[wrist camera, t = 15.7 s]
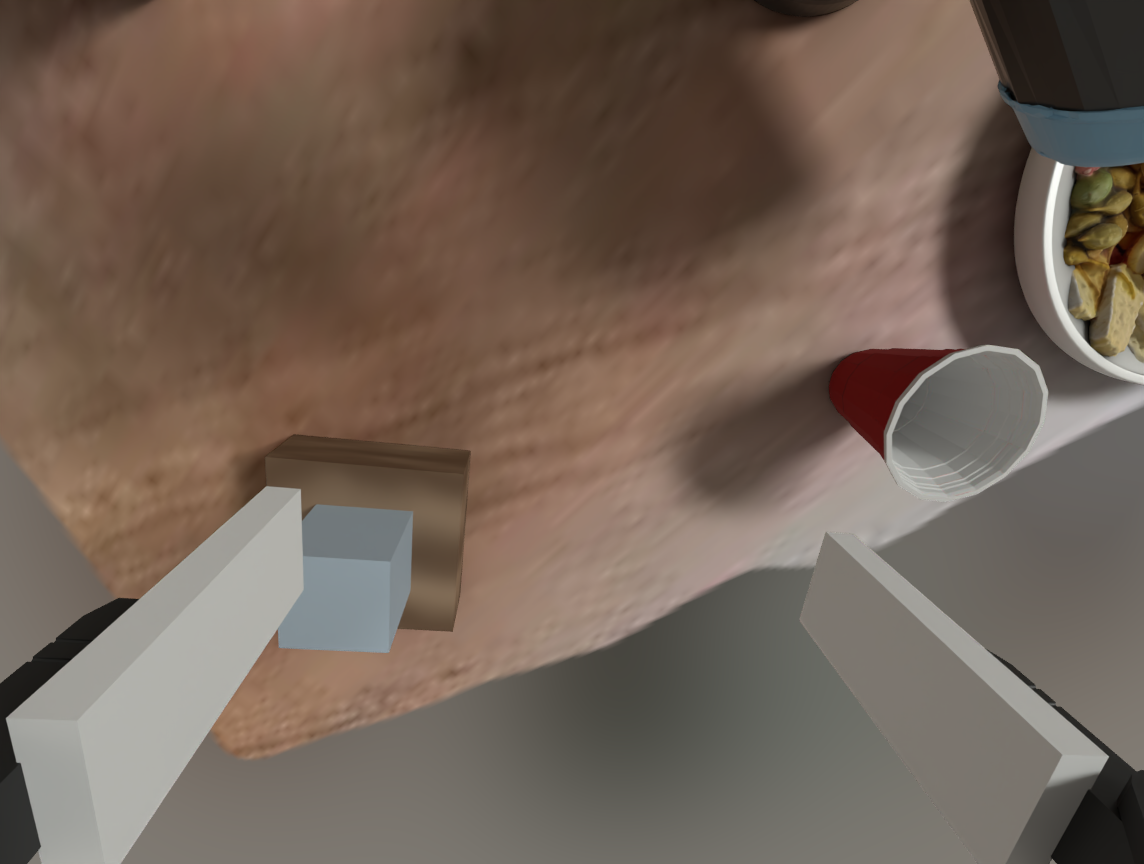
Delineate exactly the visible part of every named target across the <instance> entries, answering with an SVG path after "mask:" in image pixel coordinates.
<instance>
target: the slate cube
mask: <svg viewBox="0 0 1144 864" xmlns="http://www.w3.org/2000/svg"><path fill="white" fill-rule="evenodd" d="M412 528H413V511H402V510H388V509H374V508H360V507H346V506H333V505H319V504H316V505H315V506H314V507H313V509H312V510H311V511H310V512H309V513H308V515H307V516H306V517H305V518H304V519H303V520H302V547H303V581H304V590H303V592H302V593H301V594H300V596H299V597H298V599H297V600H296V602H295V603H294V605H293V606H292V608H291V609H290V611H289V612H288V614H287V615H286V617H285V618H284V620H283V621H282V623H281V624H280V626H279V627H278V638H279V648H291V649H313V650H336V651H358V652H380V653H389V651H390V648H391V645H392V642H393V639H394V636H395V633H396V631H397V628H398V625H399V622H400V619H401V616H402V614H403V611H404V608H405V605H406V602H407V599H408V596H409V594H410V589H411V559H412Z"/></svg>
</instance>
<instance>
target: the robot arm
mask: <svg viewBox="0 0 1144 864" xmlns="http://www.w3.org/2000/svg"><path fill="white" fill-rule="evenodd" d="M755 1H756V2H758V3H759V4H761V5H763V6H765V7H767V8H769V9H771V10H773V11H776V12H779V13H783V14H787V15H793V16H817V15H823V14H827V13H831V12H834V11H837V10H840V9H842V8H845V7H847V6H849V5H851V4H853V3H854V2H856V1H858V0H755ZM970 3H971V5H972V8H973V11H974V13H975V16H976V19H977V21H978V24H979V26H980V29H981V32H982V34H983V37H984V40H985V42H986V45H987V47H988V50H989V53H990V55H991V58H992V61H993V63H994V66H995V68H996V71H997V74H998V76H999V79H1000V80H999V83H998V89H999V92H1000V95H1001V97H1002V98H1003V100H1004V101H1005V102H1006V103H1007V104H1008V105H1009V106H1011V107H1012V108H1013V110H1014V112H1015V114H1016V116H1017V118H1018V120H1019V123H1020V125H1021V127H1022V129H1023V131H1024V134H1025V136H1026V138H1027V140H1028V142H1029V144H1030V145H1031V147H1032V148H1033V149H1034V150H1035V151H1036V152H1037V153H1038V154H1040V155H1041V156H1044V157H1047V158H1050V159H1053V160H1056V161H1057V162H1059V163H1061V164H1064V165H1069V166H1079V167H1113V166H1124V165H1132V164H1138V163H1144V0H970ZM303 590H304V581H303V547H302V513H301V489H295V488H282V487H270V486H266V487H265V488H264V489H263V490H262V491H261V492H259V493H258V494H257V495H256V496H255V497H254V498H253V499H252V500H250V501H249V502H248V503H247V504H246V505H245V506H244V507H243V508H241V509H240V510H239V511H238V512H237V513H236V514H235V515H234V516H232V517H231V518H230V519H229V520H228V521H227V522H226V523H225V524H223V525H222V526H221V527H220V528H219V529H218V530H217V531H216V532H214V533H213V534H212V535H211V536H210V537H209V538H208V539H207V540H205V541H204V542H203V543H202V544H201V545H200V546H199V547H198V548H197V549H195V550H194V551H193V552H192V553H191V554H190V555H189V556H188V557H186V558H185V559H184V560H183V561H182V562H181V563H180V564H179V565H177V566H176V567H175V568H174V569H173V570H172V571H171V572H170V573H168V574H167V575H166V576H165V577H164V578H163V579H162V580H161V581H159V582H158V583H157V584H156V585H155V586H154V587H153V588H152V589H150V590H149V591H148V592H147V593H146V594H145V595H144V596H143V597H141V598H140V599H128V598H118V599H116V600H114V601H112V602H110V603H108V604H106V605H104V606H102V607H100V608H98V609H96V610H94V611H92V612H90V613H88V614H86V615H84V616H83V617H81V618H80V619H79V620H78V621H76V622H75V623H74V624H73V625H71V626H70V627H69V628H68V629H67V630H65V631H64V632H63V633H62V634H60V635H59V636H58V637H57V638H56V641H55V642H54V643H50V644H48V645H47V646H46V647H45V648H43V649H42V650H41V651H40V652H38V653H37V654H36V655H35V656H33V660H32V661H31V662H26V663H25V664H24V665H22V666H21V667H20V668H19V669H17V670H16V671H15V672H14V673H13V674H11V675H10V676H9V677H8V678H6V679H5V680H4V681H3V682H2V683H0V864H27V863H28V862H29V861H30V860H31V858H32V857H33V856H34V855H35V854H36V852H37V851H39V856H40V860H41V863H42V864H121V862H122V860H123V859H124V857H125V856H126V854H127V853H128V852H129V850H130V848H131V847H132V846H133V844H134V843H135V841H136V840H137V838H138V837H139V835H140V834H141V832H142V831H143V829H144V828H145V826H146V824H147V823H148V822H149V820H150V818H151V817H152V816H153V814H154V813H155V811H156V810H157V808H158V807H159V805H160V804H161V802H162V801H163V799H164V798H165V796H166V795H167V793H168V792H169V790H170V789H171V787H172V786H173V784H174V783H175V781H176V780H177V778H178V777H179V775H180V774H181V772H182V771H183V769H184V768H185V766H186V765H187V763H188V762H189V760H190V759H191V757H192V756H193V754H194V753H195V751H196V750H197V748H198V747H199V745H200V744H201V742H202V741H203V739H204V738H205V736H206V735H207V734H208V732H209V731H210V729H211V728H212V726H213V725H214V723H215V722H216V720H217V719H218V717H219V716H220V714H221V713H222V711H223V710H224V708H225V707H226V705H227V704H228V702H229V701H230V699H231V698H232V696H233V695H234V693H235V692H236V690H237V689H238V687H239V686H240V684H241V683H242V681H243V680H244V678H245V677H246V675H247V674H248V672H249V671H250V669H251V668H252V666H253V665H254V663H255V662H256V660H257V659H258V657H259V656H260V654H261V653H262V651H263V650H264V648H265V647H266V645H267V644H268V642H269V641H270V639H271V638H272V636H273V635H274V633H275V632H276V630H277V629H278V627H279V626H280V624H281V623H282V621H283V620H284V618H285V617H286V615H287V614H288V612H289V611H290V609H291V608H292V606H293V605H294V603H295V602H296V600H297V599H298V597H299V596H300V594H301V593H302V592H303ZM799 621H800V622H801V623H802V625H803V626H804V627H805V629H806V630H807V632H808V633H809V634H810V635H811V637H812V638H813V640H814V641H815V643H816V644H817V645H818V646H819V648H820V649H821V651H822V652H823V653H824V655H825V656H826V657H827V659H828V660H829V662H830V663H831V664H832V665H833V667H834V668H835V670H836V671H837V672H838V674H839V675H840V677H841V678H842V679H843V681H844V682H845V683H846V685H847V686H848V688H849V689H850V690H851V691H852V693H853V694H854V696H855V697H856V699H857V700H858V701H859V702H860V704H861V705H862V707H863V708H864V709H865V711H866V712H867V714H868V715H869V716H870V718H871V719H872V720H873V722H874V723H875V725H876V726H877V727H878V729H879V730H880V731H881V733H882V734H883V735H884V737H885V738H886V740H887V741H888V742H889V743H890V745H891V746H892V748H893V749H894V750H895V752H896V753H897V755H898V756H899V757H900V759H901V760H902V761H903V763H904V764H905V765H906V767H907V768H908V770H909V771H910V772H911V774H912V775H913V776H914V778H915V779H916V781H917V782H918V783H919V784H920V786H921V787H922V789H923V790H924V791H925V793H926V794H927V795H928V797H929V798H930V799H931V801H932V802H933V804H934V805H935V806H936V808H937V809H938V811H939V812H940V813H941V815H942V816H943V817H944V819H945V820H946V821H947V823H948V824H949V826H950V827H951V828H952V830H953V831H954V832H955V834H956V835H957V837H959V839H960V841H961V842H962V843H963V845H964V846H965V847H966V849H967V850H968V851H969V853H970V854H971V855H972V857H973V858H974V860H975V861H976V863H977V864H1049V863H1050V861H1051V860H1052V859H1053V860H1054V861H1055V862H1056V863H1057V864H1144V770H1140V771H1138V772H1136V771H1135V770H1134V769H1133V768H1132V767H1131V766H1129V765H1128V764H1127V763H1126V762H1125V761H1123V760H1122V759H1121V758H1120V757H1119V756H1117V754H1115V753H1114V752H1113V751H1112V750H1111V749H1109V748H1108V747H1107V746H1106V745H1105V744H1104V743H1102V742H1101V741H1100V740H1099V739H1098V738H1096V737H1095V736H1094V735H1093V734H1092V733H1091V732H1090V731H1088V730H1087V729H1086V728H1085V727H1084V726H1082V725H1081V724H1080V723H1079V722H1078V721H1077V720H1076V719H1074V718H1073V717H1072V716H1071V715H1070V714H1069V713H1067V712H1066V711H1065V710H1064V709H1063V708H1062V707H1057V706H1056V704H1055V701H1053V700H1052V699H1051V698H1050V697H1049V696H1048V695H1046V694H1045V693H1044V692H1043V691H1042V690H1041V689H1036V687H1035V685H1034V683H1032V682H1031V681H1030V680H1029V679H1028V678H1027V677H1025V676H1024V675H1023V674H1022V673H1021V672H1020V671H1018V670H1017V669H1016V668H1015V667H1014V666H1013V665H1011V664H1010V663H1008V662H1007V661H1005V660H1003V659H1001V658H1000V657H998V656H997V655H995V654H993V653H992V652H990V651H989V650H987V649H985V648H984V647H983V646H981V645H980V644H979V643H978V642H977V641H976V640H974V639H973V638H972V637H971V636H970V635H969V634H968V633H966V632H965V631H964V630H963V629H962V628H961V627H960V626H959V625H957V624H956V623H955V622H954V621H953V620H952V619H950V618H949V617H948V616H947V615H946V614H945V613H943V612H942V611H941V610H940V609H939V608H938V607H937V606H935V605H934V604H933V603H932V602H931V601H930V600H929V599H928V598H926V597H925V596H924V595H923V594H922V593H921V592H919V591H918V590H917V589H916V588H915V587H914V586H913V585H911V584H910V583H909V582H908V581H907V580H906V579H905V578H903V577H902V576H901V575H900V574H899V573H898V572H897V571H895V570H894V569H893V568H892V567H891V566H890V565H888V564H887V563H886V562H885V561H884V560H883V559H882V558H880V557H879V556H878V555H877V554H876V553H875V552H874V551H872V550H871V549H870V548H869V547H868V546H867V545H866V544H864V543H863V542H862V541H861V540H860V539H859V538H857V537H856V536H855V535H854V534H850V533H837V532H826V533H825V536H824V539H823V543H822V546H821V549H820V553H819V556H818V559H817V563H816V566H815V569H814V573H813V576H812V579H811V583H810V586H809V589H808V592H807V596H806V599H805V602H804V606H803V609H802V612H801V616H800V619H799Z"/></svg>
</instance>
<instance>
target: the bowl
mask: <svg viewBox="0 0 1144 864" xmlns="http://www.w3.org/2000/svg"><path fill="white" fill-rule="evenodd" d="M1014 251H1015V261H1016V267H1017V273H1018V277H1019V281H1020V285H1021V288H1022V291H1023V294H1024V296H1025V299H1026V301H1027V304H1028V306H1029V308H1030V310H1031V312H1032V314H1033V316H1034V317H1035V319H1036V320H1037V322H1038V323H1039V325H1040V326H1041V328H1042V329H1043V330H1044V332H1045V333H1046V334H1047V335H1048V337H1049V338H1050V339H1051V340H1052V341H1053V342H1054V343H1055V344H1056V345H1057V346H1058V347H1059V348H1061V349H1062V350H1063V351H1064V352H1065V353H1067V354H1068V355H1069V356H1071V357H1072V358H1073V359H1075V360H1076V361H1078V362H1080V363H1081V364H1083V365H1085V366H1087V367H1088V368H1090V369H1093V370H1095V371H1097V372H1099V373H1102V374H1104V375H1107V376H1109V377H1112V378H1116V379H1119V380H1123V381H1127V382H1131V383H1136V384H1141V385H1144V163H1138V164H1132V165H1124V166H1113V167H1079V166H1069V165H1064V164H1061V163H1059V162H1057V161H1056V160H1053V159H1050V158H1047V157H1044V156H1041V155H1040V154H1038V153H1037V152H1036V151H1035V150H1034V149H1033V148H1031V151H1030V154H1029V157H1028V159H1027V162H1026V166H1025V169H1024V172H1023V176H1022V180H1021V184H1020V188H1019V193H1018V198H1017V204H1016V212H1015V222H1014Z"/></svg>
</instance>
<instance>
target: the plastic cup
mask: <svg viewBox="0 0 1144 864" xmlns="http://www.w3.org/2000/svg"><path fill="white" fill-rule="evenodd" d="M829 395H830V399H831V401H832V403H833V404H834V406H835V408H836V409H837V411H838V412H839V413H840V414H841V415H842V416H843V417H844V418H845V419H846V420H847V421H848V422H849V423H850V425H851V426H852V427H853V428H854V429H855V430H856V431H857V432H858V433H859V434H860V435H861V436H862V437H863V438H864V439H865V440H866V441H867V442H868V443H869V444H870V445H871V446H872V447H873V448H874V449H875V450H876V451H877V452H878V453H880V454H881V456H882V458H883V459H884V461H885V463H886V465H887V467H888V468H889V470H890V472H891V474H892V476H893V478H894V480H895V482H896V483H897V485H898V486H899V487H900V488H902V489H904V490H905V491H907V492H909V493H910V494H912V495H913V496H915V497H917V498H918V499H920V500H931V501H941V502H949V501H953V500H957V499H960V498H964V497H968V496H972V495H975V494H978V493H980V492H981V491H983V490H985V489H986V488H988V487H989V486H991V485H993V484H994V483H996V482H998V481H999V480H1001V479H1003V478H1004V477H1006V476H1007V475H1008V474H1009V473H1010V472H1011V470H1012V469H1013V468H1014V467H1015V466H1016V465H1017V464H1018V463H1019V462H1020V461H1021V460H1022V459H1023V458H1024V457H1025V456H1026V454H1027V453H1028V452H1029V451H1030V449H1031V447H1032V445H1033V443H1034V441H1035V440H1036V438H1037V436H1038V434H1039V432H1040V430H1041V428H1042V426H1043V424H1044V422H1045V414H1046V406H1047V398H1048V389H1047V386H1046V384H1045V381H1044V378H1043V375H1042V372H1041V369H1040V366H1039V365H1037V364H1036V363H1035V362H1034V361H1032V360H1031V359H1030V358H1029V357H1027V356H1026V355H1025V354H1024V353H1022V352H1021V351H1020V350H1019V349H1013V348H1007V347H1000V346H993V345H980V346H976V347H972V348H968V349H957V350H954V349H945V350H926V349H896V348H892V349H888V350H887V349H869V350H864V351H860V352H857V353H853V354H851V355H850V356H848V357H847V358H845V359H844V360H842V361H841V362H840V364H839V365H838V366H837V368H836V369H835V370H834V372H833V373H832V376H831V380H830V383H829Z"/></svg>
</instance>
